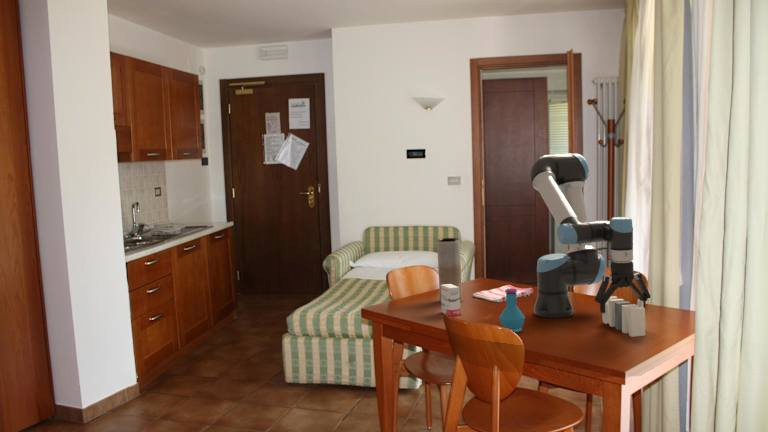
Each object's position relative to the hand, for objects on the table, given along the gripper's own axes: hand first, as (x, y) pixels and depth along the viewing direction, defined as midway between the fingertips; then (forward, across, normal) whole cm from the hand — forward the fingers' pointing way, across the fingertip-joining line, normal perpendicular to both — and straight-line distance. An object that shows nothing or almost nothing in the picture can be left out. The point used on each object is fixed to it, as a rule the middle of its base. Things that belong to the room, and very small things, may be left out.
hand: (623, 319), depth 232 cm
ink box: (+3, -52, +44) cm, 68 cm away
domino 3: (+3, 0, -5) cm, 6 cm away
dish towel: (+4, -21, +67) cm, 70 cm away
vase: (+3, -46, +65) cm, 80 cm away
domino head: (+3, 0, +9) cm, 9 cm away
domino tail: (+3, 0, -9) cm, 10 cm away
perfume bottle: (+3, -37, +13) cm, 39 cm away
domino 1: (+3, 0, +4) cm, 6 cm away
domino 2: (+3, 0, 0) cm, 3 cm away
